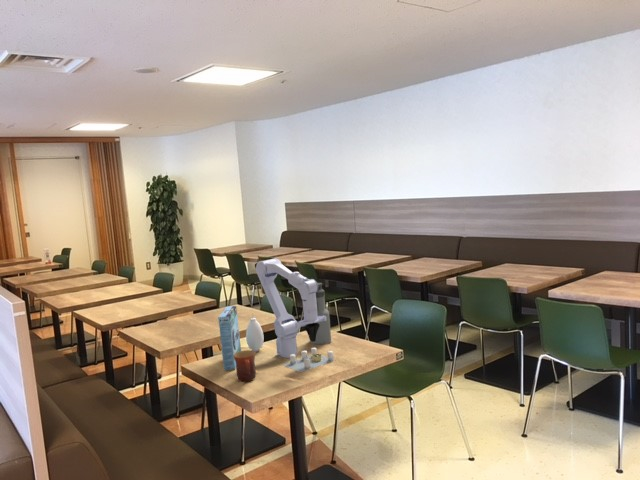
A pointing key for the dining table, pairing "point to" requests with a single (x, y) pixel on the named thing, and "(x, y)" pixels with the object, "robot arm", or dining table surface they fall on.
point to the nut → (316, 357)
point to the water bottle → (324, 328)
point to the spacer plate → (312, 364)
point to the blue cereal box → (229, 336)
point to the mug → (245, 365)
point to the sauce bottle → (254, 335)
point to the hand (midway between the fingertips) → (312, 340)
